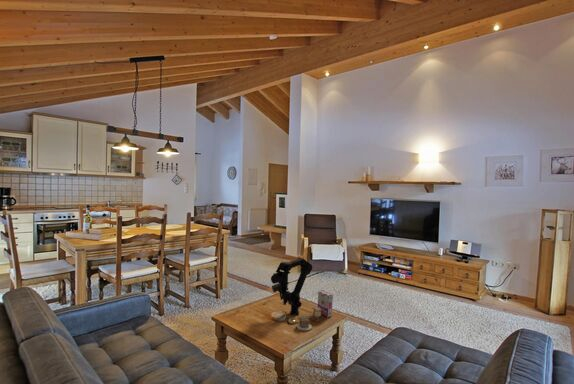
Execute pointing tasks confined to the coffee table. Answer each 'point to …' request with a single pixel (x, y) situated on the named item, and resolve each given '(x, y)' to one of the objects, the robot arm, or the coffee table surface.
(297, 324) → the sage dish
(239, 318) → the coffee table surface
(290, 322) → the balance
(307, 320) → the walnut block
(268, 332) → the coffee table surface
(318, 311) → the oak block
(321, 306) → the candy bar box
